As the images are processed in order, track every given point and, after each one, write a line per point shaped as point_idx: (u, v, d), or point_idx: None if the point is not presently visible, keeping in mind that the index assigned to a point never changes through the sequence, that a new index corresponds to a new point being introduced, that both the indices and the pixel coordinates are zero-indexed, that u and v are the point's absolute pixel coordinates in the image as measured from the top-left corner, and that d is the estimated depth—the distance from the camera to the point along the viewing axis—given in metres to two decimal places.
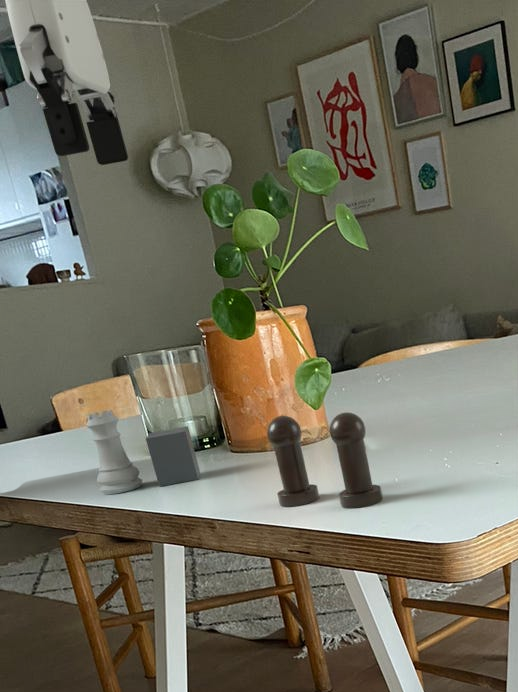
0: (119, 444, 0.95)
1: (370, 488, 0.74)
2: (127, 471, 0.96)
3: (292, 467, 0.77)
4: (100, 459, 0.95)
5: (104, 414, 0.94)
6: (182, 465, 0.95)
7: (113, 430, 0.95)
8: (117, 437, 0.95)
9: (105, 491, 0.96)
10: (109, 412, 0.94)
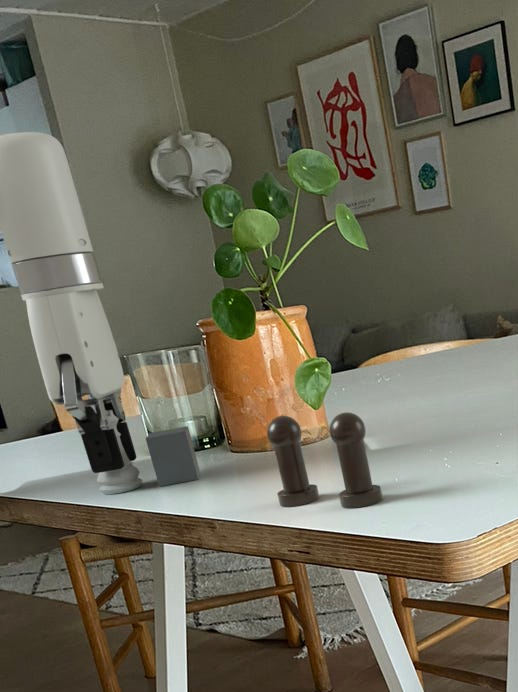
0: (119, 444, 0.95)
1: (370, 488, 0.74)
2: (127, 471, 0.96)
3: (292, 467, 0.77)
4: None
5: None
6: (182, 465, 0.95)
7: None
8: (117, 437, 0.95)
9: (105, 491, 0.96)
10: (109, 412, 0.94)
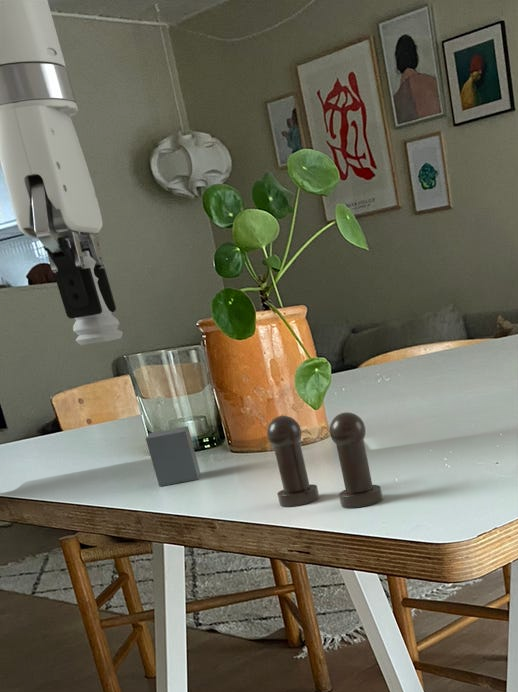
0: (97, 288, 0.88)
1: (370, 488, 0.74)
2: (106, 319, 0.88)
3: (292, 467, 0.77)
4: None
5: None
6: (182, 465, 0.95)
7: None
8: (94, 281, 0.87)
9: (82, 341, 0.88)
10: (85, 252, 0.86)
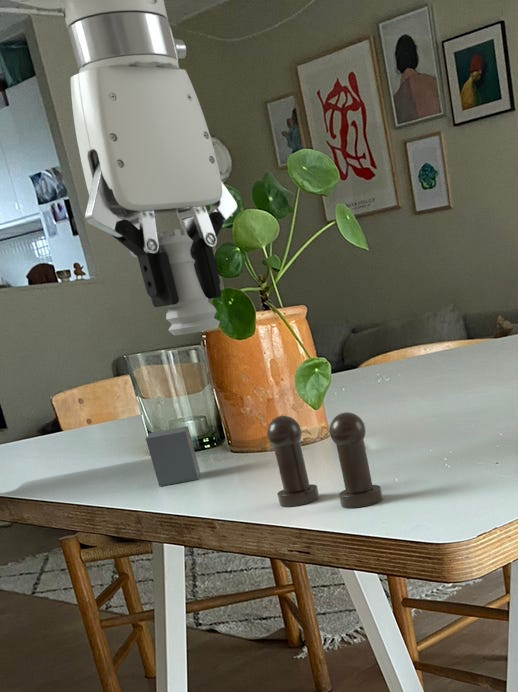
0: (185, 273, 0.77)
1: (370, 488, 0.74)
2: (187, 309, 0.78)
3: (292, 467, 0.77)
4: None
5: (165, 233, 0.76)
6: (182, 465, 0.95)
7: (178, 255, 0.77)
8: (182, 264, 0.77)
9: None
10: (174, 231, 0.76)
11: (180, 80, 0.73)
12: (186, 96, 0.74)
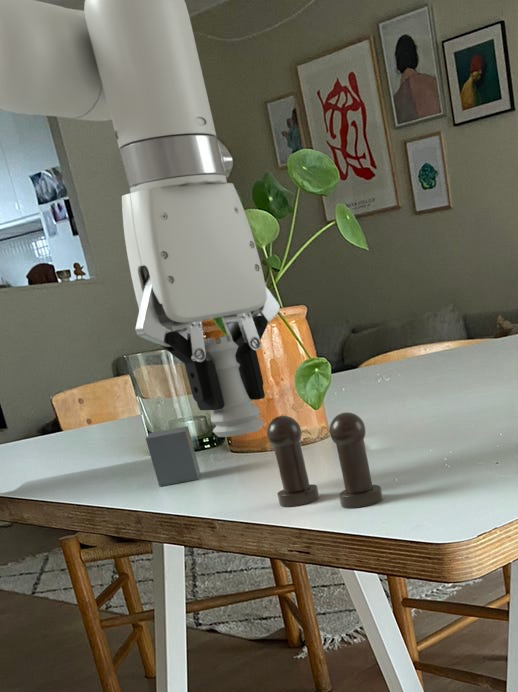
0: (230, 378, 0.79)
1: (370, 488, 0.74)
2: (232, 413, 0.79)
3: (292, 467, 0.77)
4: None
5: (212, 340, 0.77)
6: (182, 465, 0.95)
7: (223, 361, 0.78)
8: (228, 370, 0.78)
9: None
10: (220, 338, 0.77)
11: (228, 194, 0.75)
12: (233, 209, 0.75)
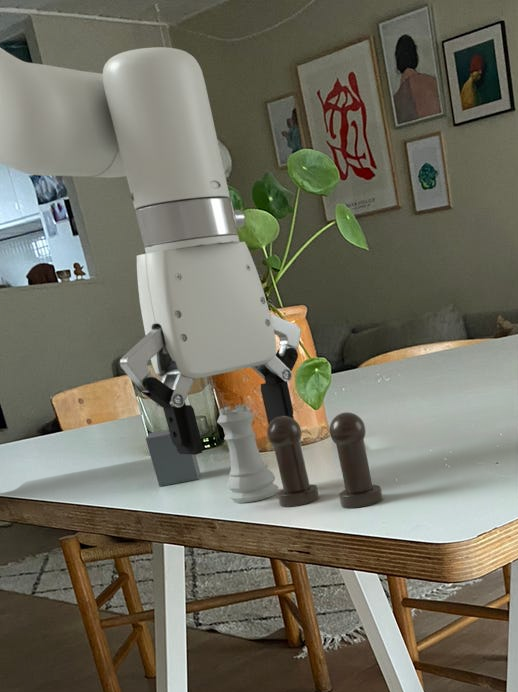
0: (246, 446, 0.81)
1: (370, 488, 0.74)
2: (248, 480, 0.81)
3: (292, 467, 0.77)
4: (231, 461, 0.82)
5: (229, 411, 0.80)
6: (182, 465, 0.95)
7: (240, 430, 0.80)
8: (244, 438, 0.81)
9: (230, 497, 0.83)
10: (237, 409, 0.80)
11: (240, 253, 0.76)
12: (245, 267, 0.77)
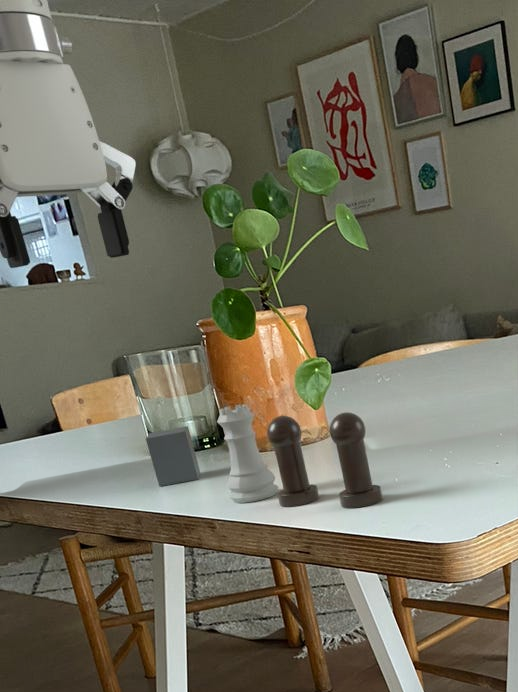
0: (247, 446, 0.81)
1: (370, 488, 0.74)
2: (248, 480, 0.81)
3: (292, 467, 0.77)
4: (231, 461, 0.82)
5: (229, 411, 0.80)
6: (182, 465, 0.95)
7: (240, 430, 0.80)
8: (244, 438, 0.81)
9: (230, 497, 0.83)
10: (237, 409, 0.80)
11: (63, 74, 0.82)
12: (69, 89, 0.82)
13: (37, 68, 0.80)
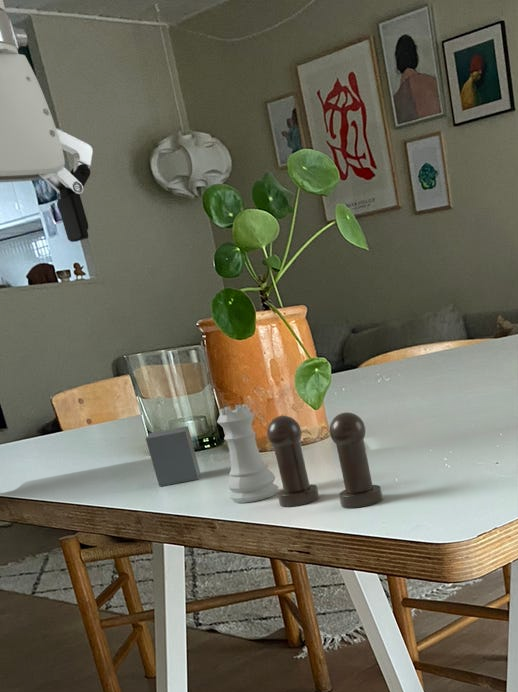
0: (247, 446, 0.81)
1: (370, 488, 0.74)
2: (248, 480, 0.81)
3: (292, 467, 0.77)
4: (231, 461, 0.82)
5: (229, 411, 0.80)
6: (182, 465, 0.95)
7: (240, 430, 0.80)
8: (244, 438, 0.81)
9: (230, 497, 0.83)
10: (237, 409, 0.80)
11: (19, 64, 0.85)
12: (25, 78, 0.86)
13: None
